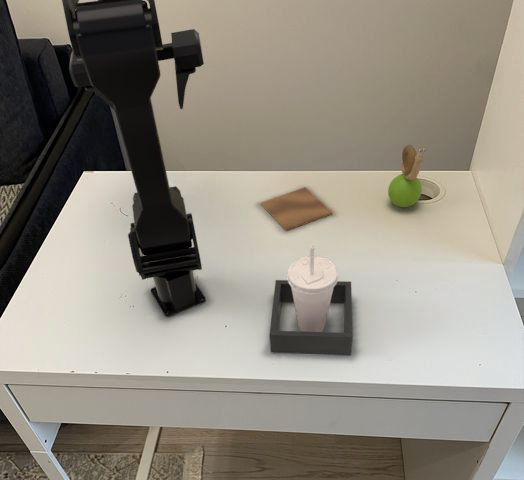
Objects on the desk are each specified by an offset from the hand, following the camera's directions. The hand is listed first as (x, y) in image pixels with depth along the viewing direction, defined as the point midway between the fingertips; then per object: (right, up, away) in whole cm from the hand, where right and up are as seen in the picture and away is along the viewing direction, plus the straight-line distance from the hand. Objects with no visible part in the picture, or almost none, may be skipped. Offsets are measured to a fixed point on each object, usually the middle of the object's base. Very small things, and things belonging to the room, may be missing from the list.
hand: (152, 112), depth 85 cm
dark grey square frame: (+24, -34, -9) cm, 42 cm away
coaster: (+23, -13, +9) cm, 28 cm away
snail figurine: (+41, -13, +8) cm, 44 cm away
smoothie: (+24, -34, -9) cm, 42 cm away
